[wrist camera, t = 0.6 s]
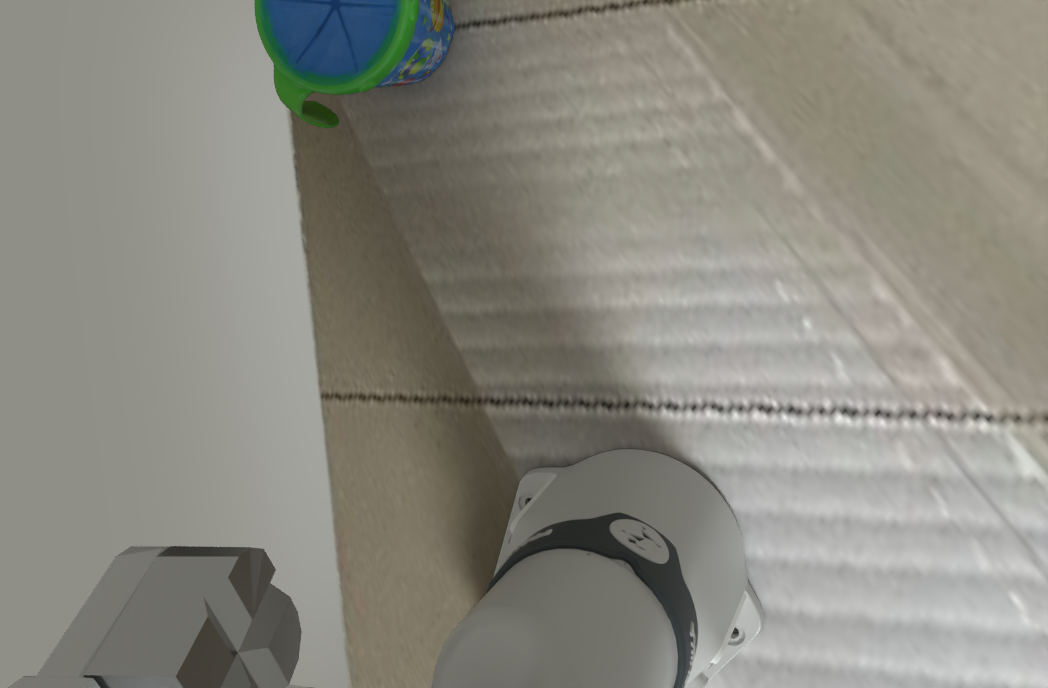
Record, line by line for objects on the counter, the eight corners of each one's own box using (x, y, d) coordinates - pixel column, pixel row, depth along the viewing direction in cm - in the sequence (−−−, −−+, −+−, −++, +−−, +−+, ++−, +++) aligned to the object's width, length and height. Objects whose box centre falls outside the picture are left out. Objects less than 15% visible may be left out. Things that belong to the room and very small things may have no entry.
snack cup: (425, -120, 61) (343, -175, 52) (534, -15, 60) (470, -51, 50) (295, 65, 67) (201, 46, 57) (392, 165, 65) (311, 163, 56)
